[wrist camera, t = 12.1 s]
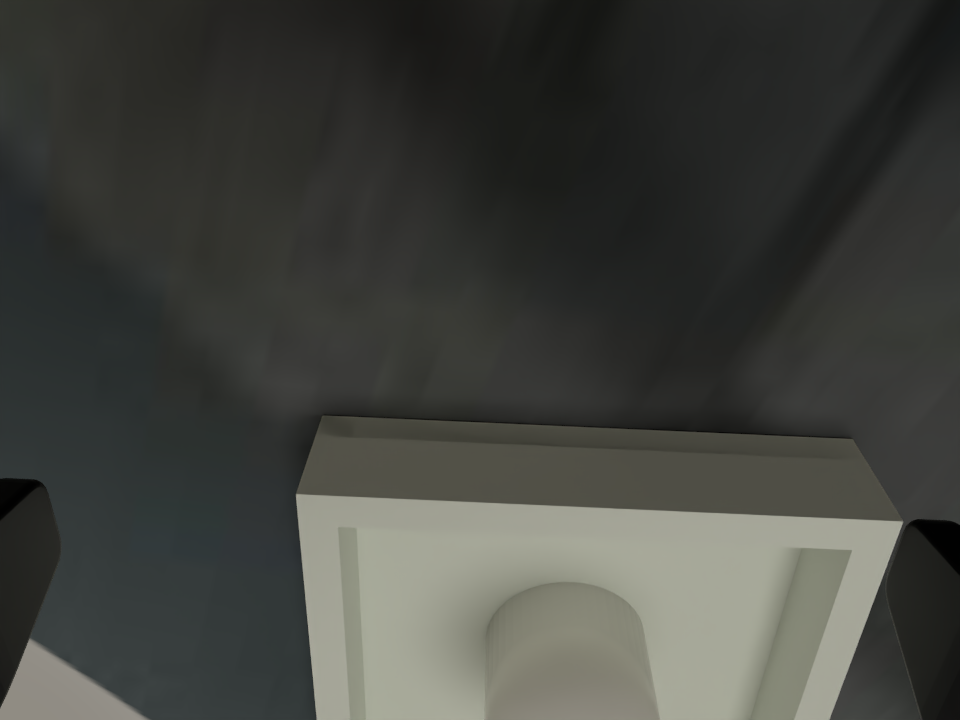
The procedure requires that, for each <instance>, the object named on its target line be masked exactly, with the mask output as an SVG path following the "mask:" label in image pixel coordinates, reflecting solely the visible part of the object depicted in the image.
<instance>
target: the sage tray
mask: <svg viewBox="0 0 960 720" xmlns="http://www.w3.org/2000/svg"><path fill="white" fill-rule="evenodd" d="M296 502H297V512H298V523H299V534H300V544H301V555H302V566H303V577H304V587H305V598H306V609H307V619H308V630H309V641H310V652H311V662H312V673H313V684H314V694H315V705H316V716H317V720H484V701H485V661H486V634H487V628H488V625H489V623H490V620H491V619H492V617H493V615H494V614H495V612H496V611H497V610H498V609H499V608H500V607H501V606H502V605H503V604H504V603H505V602H506V601H508V600H509V599H510V598H512V597H513V596H515V595H517V594H519V593H521V592H523V591H525V590H528V589H530V588H533V587H536V586H540V585H544V584H550V583H559V582H575V583H584V584H589V585H594V586H597V587H600V588H604V589H606V590H608V591H611V592H613V593H615V594H616V595H618V596H620V597H621V598H623V599H624V600H625V601H626V602H628V603H629V604H630V605H631V606H632V607H633V608H634V610H635V611H636V612H637V614H638V615H639V617H640V619H641V621H642V624H643V628H644V633H645V638H646V644H647V649H648V655H649V660H650V666H651V671H652V677H653V682H654V688H655V693H656V698H657V704H658V709H659V715H660V720H829V719H830V716H831V714H832V711H833V708H834V706H835V703H836V700H837V698H838V695H839V692H840V690H841V687H842V684H843V682H844V679H845V676H846V674H847V671H848V668H849V666H850V663H851V660H852V658H853V655H854V652H855V650H856V647H857V644H858V642H859V639H860V636H861V633H862V631H863V628H864V625H865V623H866V620H867V617H868V615H869V612H870V609H871V607H872V604H873V601H874V599H875V596H876V593H877V591H878V588H879V585H880V583H881V580H882V577H883V575H884V572H885V569H886V567H887V564H888V561H889V559H890V556H891V553H892V551H893V548H894V545H895V542H896V540H897V537H898V534H899V532H900V529H901V526H902V524H903V520H902V519H901V517H900V515H899V514H898V512H897V510H896V509H895V507H894V506H893V504H892V502H891V501H890V499H889V497H888V496H887V494H886V493H885V491H884V489H883V488H882V486H881V484H880V483H879V481H878V479H877V478H876V476H875V475H874V473H873V471H872V470H871V468H870V466H869V465H868V463H867V462H866V460H865V458H864V457H863V455H862V453H861V452H860V450H859V449H858V447H857V445H856V444H855V442H854V440H853V439H841V438H818V437H796V436H773V435H751V434H729V433H706V432H684V431H661V430H639V429H616V428H594V427H571V426H549V425H527V424H504V423H482V422H459V421H437V420H414V419H392V418H370V417H347V416H325V415H322V418H321V421H320V424H319V427H318V430H317V433H316V436H315V439H314V442H313V445H312V448H311V451H310V454H309V457H308V460H307V463H306V466H305V468H304V471H303V474H302V477H301V480H300V483H299V486H298V489H297V492H296Z"/></svg>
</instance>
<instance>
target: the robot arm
mask: <svg viewBox="0 0 960 720" xmlns="http://www.w3.org/2000/svg"><path fill="white" fill-rule="evenodd" d="M60 555H61V538H60V534H59V530H58V527H57V523H56V520H55V516H54V513H53V509H52V505H51V502H50V498H49V495H48V492H47V489H46V487H45V486H44V485H43V483H41V482H40V481H37V480H34V479H13V478H3V479H0V707H1V705H2V703H3V701H4V699H5V697H6V695H7V693H8V690H9V688H10V686H11V683H12V681H13V679H14V676H15V674H16V671H17V669H18V666H19V664H20V661H21V658H22V656H23V653H24V650H25V648H26V646H27V643H28V641H29V638H30V635H31V633H32V630H33V628H34V625H35V623H36V620H37V617H38V615H39V612H40V610H41V607H42V605H43V602H44V599H45V597H46V594H47V592H48V589H49V587H50V584H51V581H52V579H53V576H54V574H55V571H56V569H57V566H58V563H59V560H60ZM885 591H886V599H887V603H888V606H889V610H890V613H891V617H892V620H893V624H894V627H895V631H896V634H897V638H898V641H899V644H900V648H901V651H902V655H903V658H904V662H905V665H906V669H907V672H908V676H909V679H910V682H911V686H912V689H913V693H914V696H915V700H916V703H917V707H918V710H919V714H920V717H921V720H960V525H959V524H957V523H955V522H952V521H947V520H925V519H917V520H914V521H911V522H910V523H909V524H908V525H907V526H906V528H905V530H904V532H903V534H902V537H901V540H900V542H899V545H898V548H897V550H896V553H895V556H894V558H893V561H892V564H891V566H890V569H889V571H888V574H887V578H886V585H885Z"/></svg>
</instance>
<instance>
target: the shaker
mask: <svg viewBox="0 0 960 720" xmlns="http://www.w3.org/2000/svg"><path fill="white" fill-rule="evenodd" d="M484 720H660V715H659V709H658V704H657V698H656V693H655V688H654V682H653V677H652V671H651V666H650V660H649V655H648V649H647V644H646V638H645V633H644V628H643V624H642V621H641V619H640V617H639V615H638V614H637V612H636V611H635V610H634V608H633V607H632V606H631V605H630V604H629V603H628V602H626V601H625V600H624V599H623V598H621V597H620V596H618V595H616V594H615V593H613V592H611V591H608V590H606V589H604V588H600V587H597V586H594V585H589V584H584V583H575V582H559V583H550V584H544V585H540V586H536V587H533V588H530V589H528V590H525V591H523V592H521V593H519V594H517V595H515V596H513V597H512V598H510V599H509V600H508V601H506V602H505V603H504V604H503V605H502V606H501V607H500V608H499V609H498V610H497V611H496V612H495V614H494V615H493V617H492V619H491V620H490V623H489V625H488V628H487V634H486V661H485V701H484Z"/></svg>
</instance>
